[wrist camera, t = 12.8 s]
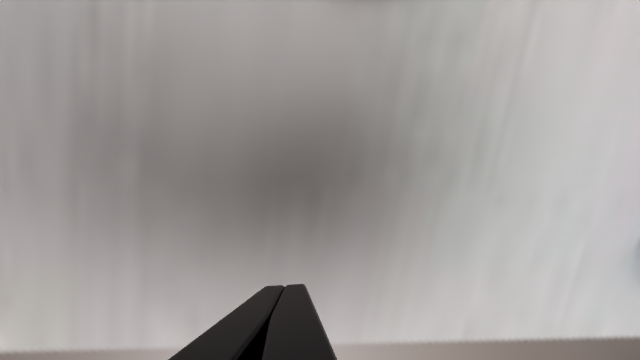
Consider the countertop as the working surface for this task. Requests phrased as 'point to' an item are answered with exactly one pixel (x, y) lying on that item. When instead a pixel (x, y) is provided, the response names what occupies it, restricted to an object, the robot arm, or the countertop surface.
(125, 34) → the countertop surface
